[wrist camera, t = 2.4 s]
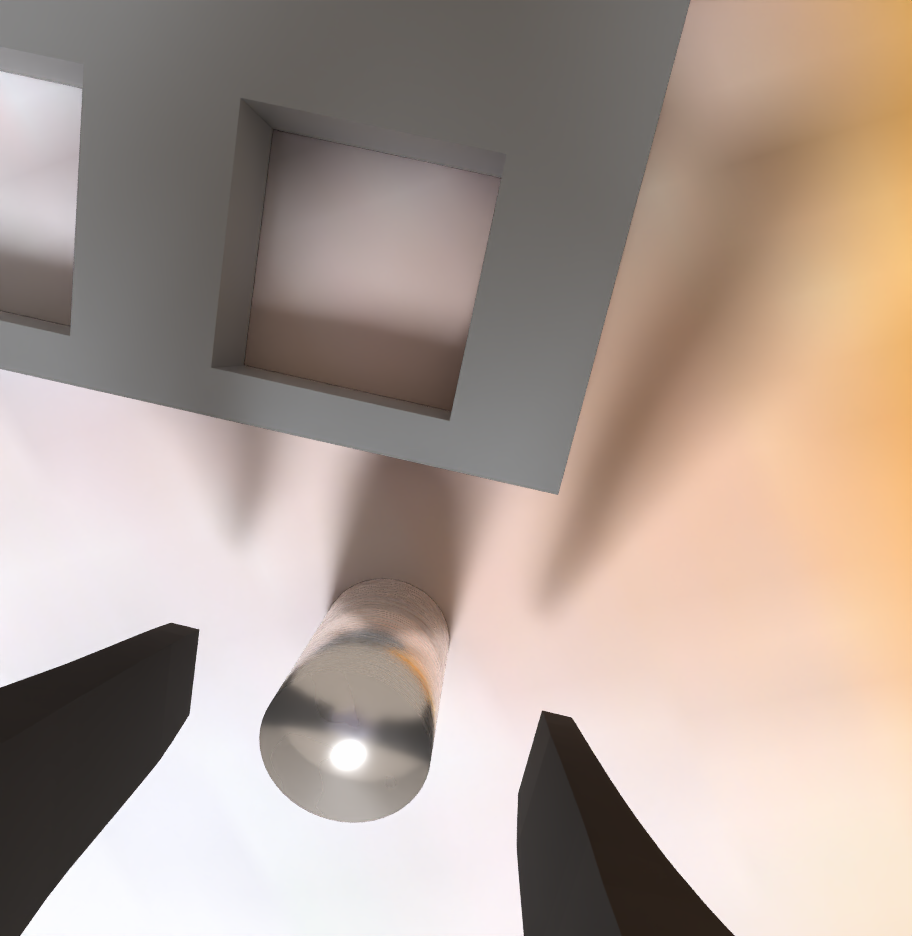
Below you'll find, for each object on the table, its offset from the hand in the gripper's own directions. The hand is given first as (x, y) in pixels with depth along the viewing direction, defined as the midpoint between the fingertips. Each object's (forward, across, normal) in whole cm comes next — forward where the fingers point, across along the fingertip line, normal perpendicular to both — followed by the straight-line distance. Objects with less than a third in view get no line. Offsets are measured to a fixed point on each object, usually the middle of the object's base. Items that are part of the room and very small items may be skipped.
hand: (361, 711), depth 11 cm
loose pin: (+3, 0, 0) cm, 3 cm away
